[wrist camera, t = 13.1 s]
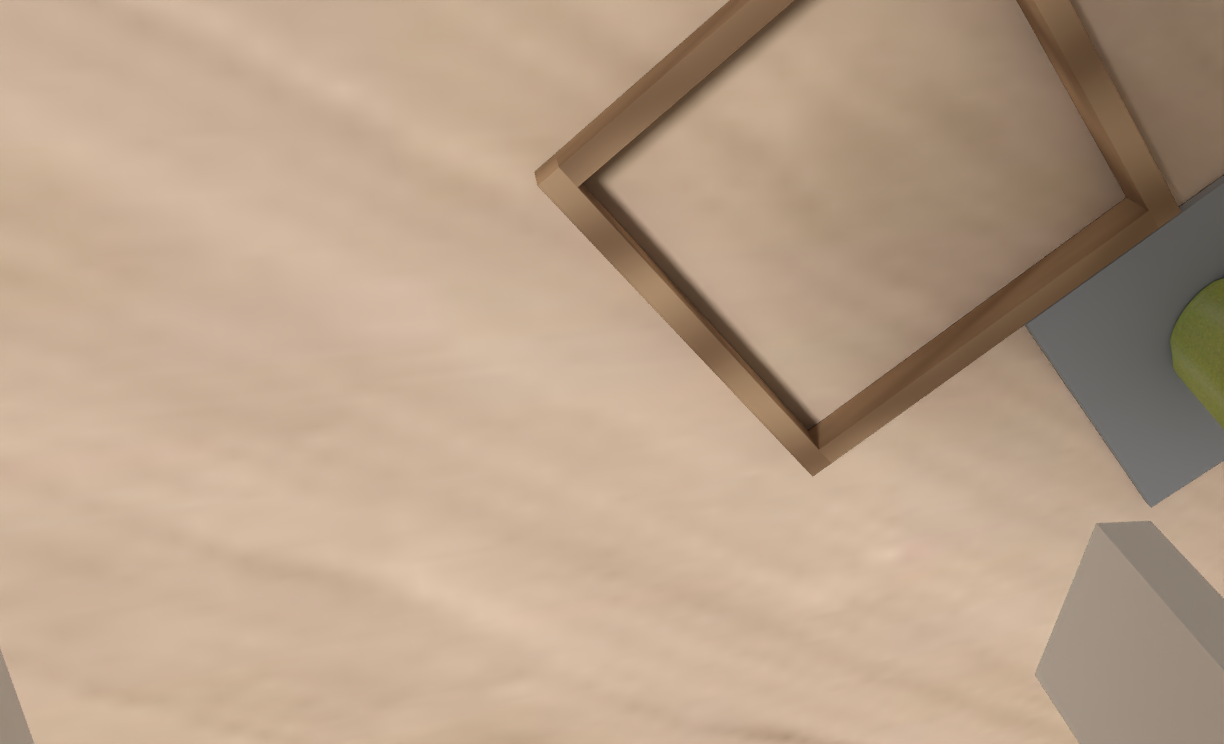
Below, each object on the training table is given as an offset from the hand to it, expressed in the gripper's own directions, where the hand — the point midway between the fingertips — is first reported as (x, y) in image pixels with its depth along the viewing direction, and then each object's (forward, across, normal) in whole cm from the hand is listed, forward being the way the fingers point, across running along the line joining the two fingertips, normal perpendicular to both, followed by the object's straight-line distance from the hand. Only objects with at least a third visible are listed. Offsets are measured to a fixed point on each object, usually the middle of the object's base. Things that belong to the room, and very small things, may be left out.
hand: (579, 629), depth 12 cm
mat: (+26, +32, -10) cm, 43 cm away
